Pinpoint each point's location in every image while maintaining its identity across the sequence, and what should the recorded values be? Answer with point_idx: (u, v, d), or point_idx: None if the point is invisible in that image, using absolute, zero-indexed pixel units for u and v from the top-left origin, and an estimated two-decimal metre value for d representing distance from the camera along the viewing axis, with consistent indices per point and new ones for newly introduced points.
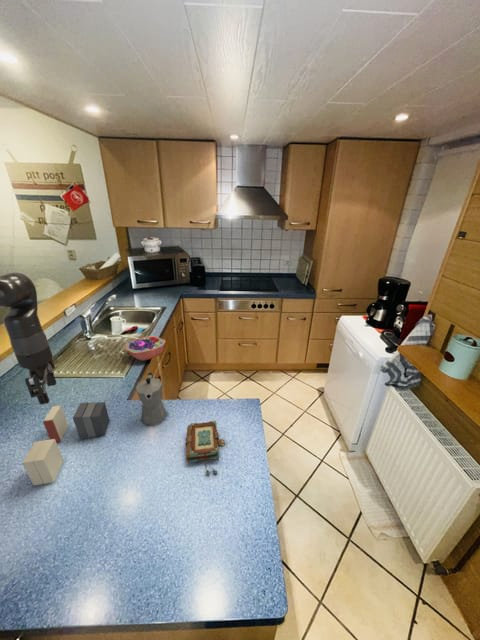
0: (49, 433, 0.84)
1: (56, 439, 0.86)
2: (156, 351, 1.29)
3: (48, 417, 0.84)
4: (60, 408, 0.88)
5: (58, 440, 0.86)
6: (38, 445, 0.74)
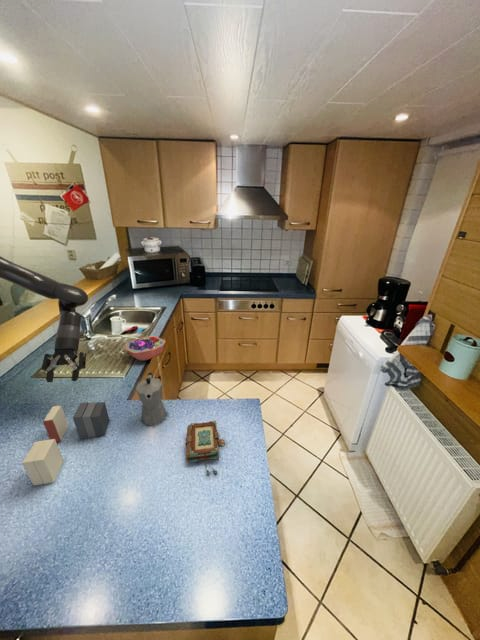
0: (49, 433, 0.84)
1: (56, 439, 0.86)
2: (156, 351, 1.29)
3: (48, 417, 0.84)
4: (60, 408, 0.88)
5: (58, 440, 0.86)
6: (38, 445, 0.74)
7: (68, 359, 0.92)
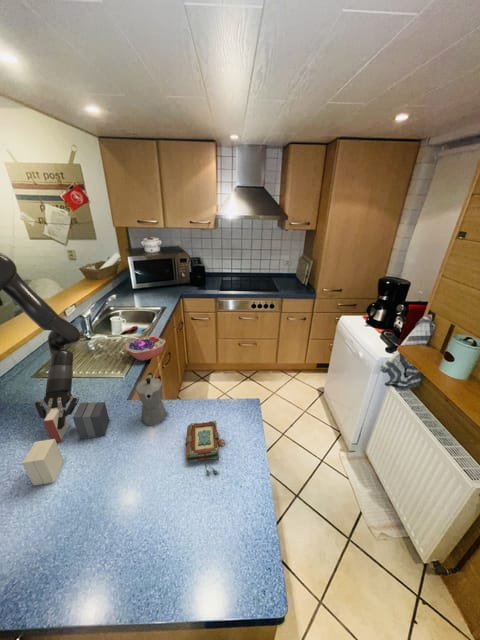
0: (49, 433, 0.84)
1: (56, 439, 0.86)
2: (156, 351, 1.29)
3: (48, 417, 0.84)
4: None
5: (58, 440, 0.86)
6: (38, 445, 0.74)
7: (59, 402, 0.87)
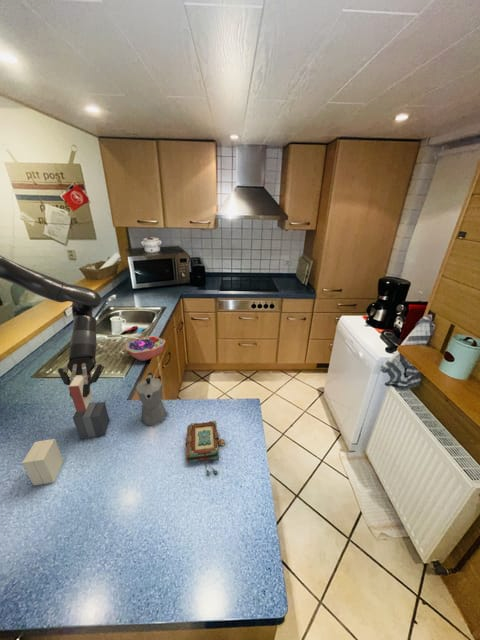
0: (74, 400, 0.78)
1: (81, 407, 0.80)
2: (156, 351, 1.29)
3: (73, 383, 0.78)
4: None
5: (83, 409, 0.80)
6: (38, 445, 0.74)
7: (84, 369, 0.81)
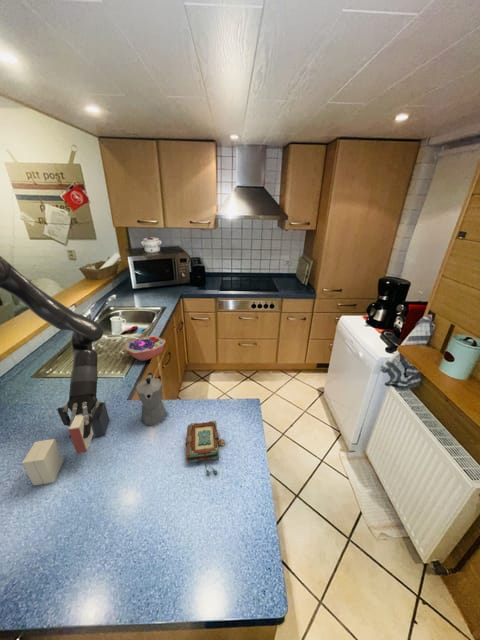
0: (74, 443, 0.75)
1: (82, 449, 0.76)
2: (156, 351, 1.29)
3: (74, 425, 0.74)
4: None
5: (84, 450, 0.77)
6: (38, 445, 0.74)
7: (85, 408, 0.78)
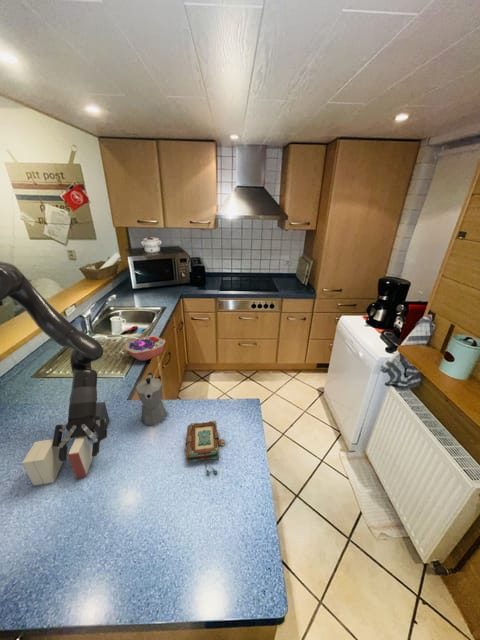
0: (74, 467, 0.73)
1: (81, 474, 0.75)
2: (156, 351, 1.29)
3: (73, 449, 0.73)
4: (85, 437, 0.77)
5: (84, 475, 0.75)
6: (38, 445, 0.74)
7: (86, 429, 0.77)
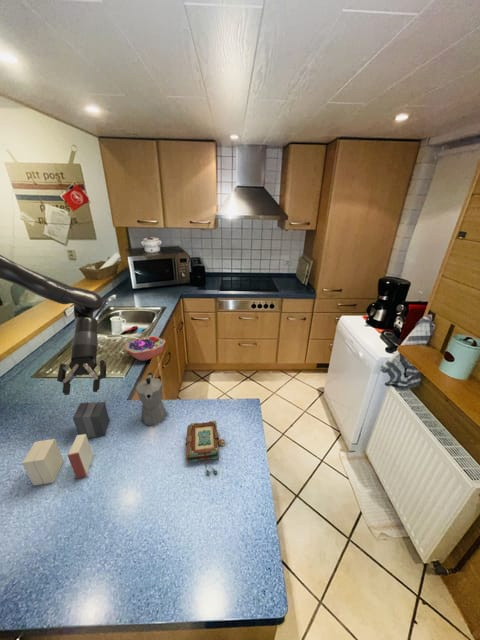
0: (74, 467, 0.73)
1: (81, 474, 0.75)
2: (156, 351, 1.29)
3: (73, 449, 0.73)
4: (85, 437, 0.77)
5: (84, 475, 0.75)
6: (38, 445, 0.74)
7: (88, 368, 0.84)
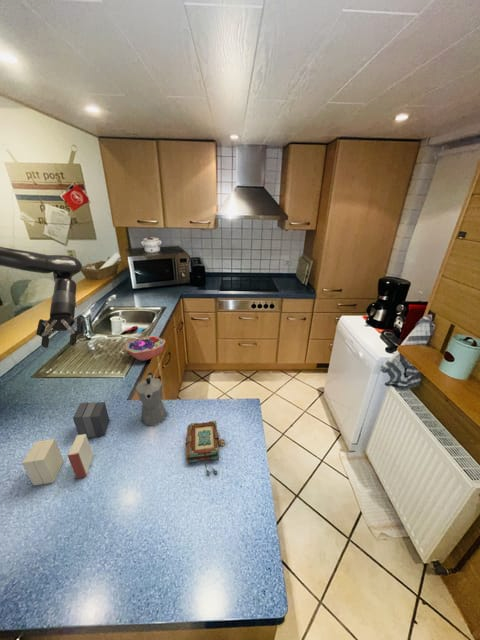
0: (74, 467, 0.73)
1: (81, 474, 0.75)
2: (156, 351, 1.29)
3: (73, 449, 0.73)
4: (85, 437, 0.77)
5: (84, 475, 0.75)
6: (38, 445, 0.74)
7: (65, 323, 0.91)
